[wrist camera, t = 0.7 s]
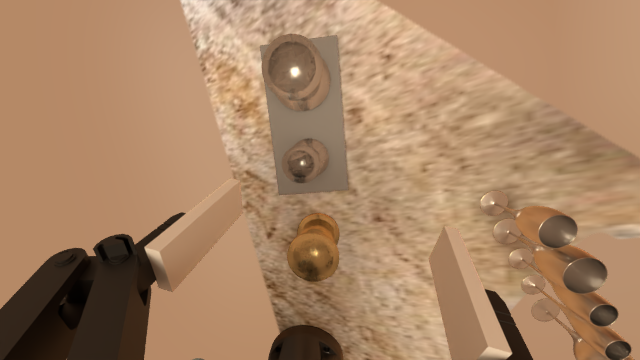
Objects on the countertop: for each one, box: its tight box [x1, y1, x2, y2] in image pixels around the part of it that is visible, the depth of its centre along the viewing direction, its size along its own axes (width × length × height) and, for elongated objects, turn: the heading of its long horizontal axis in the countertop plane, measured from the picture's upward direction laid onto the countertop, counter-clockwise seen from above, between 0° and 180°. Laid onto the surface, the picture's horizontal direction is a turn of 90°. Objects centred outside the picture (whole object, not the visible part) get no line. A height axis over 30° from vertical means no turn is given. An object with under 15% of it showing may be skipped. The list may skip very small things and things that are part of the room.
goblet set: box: [480, 191, 634, 360], centre depth 34 cm, size 28×6×13 cm, turn 30°
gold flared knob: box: [287, 213, 339, 281], centre depth 39 cm, size 8×8×9 cm
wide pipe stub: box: [262, 34, 331, 112], centre depth 33 cm, size 9×9×8 cm
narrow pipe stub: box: [282, 138, 329, 184], centre depth 35 cm, size 6×6×9 cm
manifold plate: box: [260, 35, 348, 195], centre depth 39 cm, size 24×12×2 cm, turn 5°
